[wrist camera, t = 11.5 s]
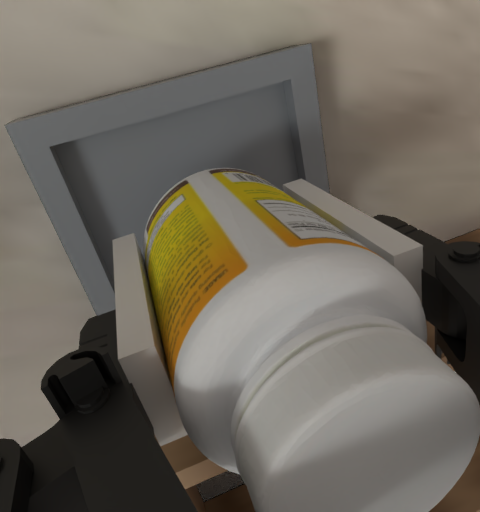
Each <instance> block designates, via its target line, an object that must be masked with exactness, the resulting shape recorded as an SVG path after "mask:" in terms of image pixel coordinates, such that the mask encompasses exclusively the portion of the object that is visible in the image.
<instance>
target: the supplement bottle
mask: <svg viewBox="0 0 480 512" xmlns="http://www.w3.org/2000/svg"><path fill="white" fill-rule="evenodd" d="M143 252H144V260H145V265H146V270H147V275H148V279H149V283H150V289H151V293H152V297H153V302H154V306H155V311H156V315H157V320H158V325H159V329H160V334H161V338H162V343H163V347H164V352H165V357H166V361H167V366H168V371H169V376H170V379H171V383H172V388H173V393H174V397H175V402H176V405H177V408H178V411H179V415H180V418H181V421H182V424H183V426H184V428H185V430H186V432H187V434H188V436H189V438H190V439H191V440H192V442H193V443H194V444H195V446H196V447H197V448H198V449H199V450H200V451H201V453H202V454H203V455H205V456H206V457H207V458H208V459H209V460H211V461H212V462H214V463H215V464H217V465H219V466H220V467H222V468H224V469H226V470H228V471H231V472H234V473H237V474H240V476H241V478H242V480H243V482H244V483H245V485H246V486H247V489H248V492H249V495H250V497H251V500H252V503H253V506H254V509H255V512H429V511H430V510H431V509H432V508H433V507H435V506H436V505H437V504H438V503H439V502H440V501H441V500H442V499H443V498H444V497H445V495H446V494H447V493H448V492H449V491H450V490H451V489H452V488H453V486H454V485H455V484H456V482H457V481H458V480H459V478H460V477H461V476H462V474H463V473H464V471H465V469H466V468H467V466H468V464H469V463H470V461H471V459H472V457H473V454H474V452H475V449H476V446H477V443H478V440H479V436H480V406H479V402H478V400H477V397H476V395H475V393H474V392H473V390H472V389H471V388H470V386H469V385H468V384H467V383H466V382H465V381H464V380H463V379H462V378H461V377H460V376H459V375H458V374H457V373H455V372H454V371H453V370H452V369H451V368H450V367H449V366H447V365H446V364H445V363H444V362H443V361H442V360H441V359H440V358H439V357H437V356H436V355H435V353H434V352H433V350H432V349H431V348H430V347H429V346H428V345H427V326H426V319H425V314H424V311H423V307H422V304H421V302H420V299H419V297H418V295H417V293H416V291H415V290H414V288H413V287H412V285H411V284H410V283H409V281H408V280H407V279H406V278H405V277H404V276H403V275H402V274H401V273H400V272H399V271H398V270H397V269H396V268H395V267H394V266H392V265H391V264H390V263H388V262H387V261H386V260H385V259H384V258H382V257H381V256H379V255H378V254H376V253H375V252H373V251H371V250H370V249H368V248H367V247H365V246H364V245H363V244H362V243H360V242H359V241H357V240H355V239H353V238H352V237H350V236H349V235H347V234H346V233H344V232H343V231H341V230H340V229H338V228H337V227H335V226H334V225H332V224H331V223H330V222H328V221H327V220H325V219H323V218H322V217H320V216H319V215H318V214H316V213H315V212H313V211H312V210H310V209H308V208H307V207H306V206H304V205H303V204H301V203H300V202H298V201H296V200H295V199H293V198H292V197H290V196H289V195H287V194H286V193H284V192H283V191H282V190H280V189H278V188H277V187H275V186H274V185H272V184H271V183H269V182H268V181H266V180H265V179H263V178H261V177H260V176H258V175H256V174H253V173H251V172H248V171H244V170H241V169H234V168H214V169H208V170H204V171H201V172H198V173H195V174H193V175H190V176H188V177H186V178H185V179H183V180H181V181H180V182H178V183H177V184H175V185H174V186H173V187H172V188H170V189H169V190H168V191H167V192H166V193H165V194H164V195H163V197H162V198H161V199H160V200H159V202H158V203H157V204H156V206H155V208H154V209H153V211H152V213H151V215H150V216H149V219H148V222H147V225H146V229H145V233H144V241H143Z"/></svg>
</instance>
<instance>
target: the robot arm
mask: <svg viewBox="0 0 480 512" xmlns="http://www.w3.org/2000/svg"><path fill="white" fill-rule="evenodd" d="M283 189H284V193H286V194H287V195H289V196H290V197H292V198H293V199H295V200H296V201H298V202H300V203H301V204H303V205H304V206H306V207H307V208H308V209H310V210H312V211H313V212H315V213H316V214H318V215H319V216H320V217H322V218H323V219H325V220H327V221H328V222H330V223H331V224H332V225H334V226H335V227H337V228H338V229H340V230H341V231H343V232H344V233H346V234H347V235H349V236H350V237H352V238H353V239H355V240H357V241H359V242H360V243H362V244H363V245H364V246H365V247H367V248H368V249H370V250H371V251H373V252H375V253H376V254H378V255H379V256H381V257H382V258H384V259H385V260H386V261H387V262H388V263H390V264H391V265H392V266H394V267H395V268H396V269H397V270H398V271H399V272H400V273H401V274H402V275H403V276H404V277H405V278H406V279H407V280H408V281H409V283H410V284H411V285H412V287H413V288H414V290H415V291H416V293H417V295H418V297H419V299H420V302H421V304H422V307H423V311H424V314H425V319H426V320H427V321H428V322H430V323H431V324H432V325H433V326H435V355H436V356H437V357H439V358H440V359H441V355H442V353H443V354H444V355H445V357H446V358H447V364H451V366H452V367H453V369H454V370H455V372H456V373H457V374H458V375H459V376H460V377H461V378H462V379H463V380H464V381H465V382H466V383H467V384H468V385H469V386H470V388H471V389H472V390H473V392H474V393H475V395H476V397H477V400H478V402H479V406H480V243H478V242H470V241H460V242H452V243H449V244H447V243H445V242H443V241H441V240H439V239H437V238H435V237H433V236H431V235H429V234H427V233H425V232H423V231H421V230H417V228H415V227H413V226H411V225H408V224H407V223H405V222H403V221H401V220H399V219H397V218H395V217H390V216H385V215H377V216H374V217H371V216H369V215H367V214H365V213H363V212H361V211H360V210H358V209H356V208H354V207H352V206H351V205H349V204H347V203H345V202H343V201H341V200H340V199H338V198H336V197H334V196H332V195H331V194H329V193H327V192H325V191H323V190H322V189H320V188H318V187H316V186H314V185H312V184H311V183H309V182H307V181H305V180H303V179H302V178H301V179H298V180H295V181H292V182H289V183H286V184H283ZM112 242H113V263H114V285H115V306H116V309H115V310H112V311H109V312H107V313H104V314H101V315H98V316H95V317H92V318H90V319H88V321H87V322H86V324H85V325H84V327H83V329H82V330H81V332H80V341H79V345H80V346H79V349H78V350H76V351H73V352H71V353H69V354H67V355H65V356H64V357H62V358H61V359H59V360H58V361H56V362H55V363H54V364H53V365H52V366H51V367H50V368H49V369H48V370H47V372H46V374H45V375H44V377H43V379H42V381H41V390H42V392H43V393H44V395H45V396H46V398H47V399H48V401H49V403H50V404H51V406H52V407H53V409H54V410H55V412H56V414H57V415H58V417H59V418H60V420H59V421H58V422H57V423H56V424H55V425H54V426H53V427H52V428H50V429H49V430H47V431H46V432H45V433H43V434H42V435H40V436H39V437H37V438H36V439H34V440H32V441H31V442H29V443H28V444H26V445H25V446H23V447H22V448H21V447H20V445H19V444H18V443H17V442H15V441H14V440H13V439H0V512H198V511H197V509H196V507H195V506H194V504H193V502H192V500H191V499H190V497H189V495H188V494H187V492H186V490H185V488H184V487H183V485H182V483H181V482H180V480H179V478H178V476H177V475H176V473H175V471H174V469H173V468H172V466H171V464H170V463H169V461H168V459H167V457H166V456H165V454H164V452H163V450H162V449H161V447H160V446H163V445H165V444H167V443H170V442H172V441H175V440H177V439H179V438H182V437H184V436H186V435H188V434H187V432H186V430H185V428H184V426H183V424H182V421H181V418H180V415H179V411H178V408H177V405H176V402H175V397H174V393H173V388H172V383H171V379H170V376H169V371H168V366H167V361H166V357H165V352H164V347H163V343H162V338H161V334H160V329H159V325H158V320H157V315H156V311H155V306H154V302H153V297H152V293H151V289H150V283H149V279H148V275H147V270H146V265H145V260H144V257H143V255H142V252H141V250H140V247H139V245H138V242H137V239H136V237H135V234H134V233H132V234H129V235H126V236H123V237H120V238H117V239H114V240H112ZM154 434H155V436H156V438H155V436H154ZM156 439H157V440H156ZM157 441H158V442H157ZM158 443H159V444H158Z"/></svg>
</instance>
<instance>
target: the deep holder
mask: <svg viewBox="0 0 480 512" xmlns="http://www.w3.org/2000/svg"><path fill="white" fill-rule="evenodd" d="M460 241H470V242H478V243H480V229H478V230H475V231H472V232H470V233H467V234H464V235H462V236H459V237H456V238H454V239H451V240H448V241H446V242H445V243H447V244H449V243H452V242H460ZM426 326H427V345H428V346H429V347H430V348H431V349H432V350H433V352H434V353H435V326H433V325H432V324H431V323H430V322H428V321H427V320H426ZM441 360H442V361H443V362H444V363H445V364H446V365H447V366H449V367H450V368H451V369H452V370H453V371H455V370H454V369H453V367H452V366H451V364H447V358H446V357H445V355H444V354H443V353H442V355H441ZM154 436H155V434H154ZM155 438H156V436H155ZM156 440H157V439H156ZM157 442H158V441H157ZM158 444H159V443H158ZM160 447H161V449H162V450H163V452H164V454H165V456H166V457H167V459H168V461H169V463H170V464H171V466H172V468H173V469H174V471H175V473H176V475H177V476H178V478H179V480H180V482H181V483H182V485H183V487H184V488H185V490H186V492H187V494H188V495H189V497H190V499H191V500H192V502H193V504H194V506H195V507H196V509H197V511H198V512H255V509H254V506H253V503H252V500H251V497H250V495H249V492H248V489H247V486H246V485H245V484H244V485H242V486H240V487H237V488H235V489H233V490H231V491H228V492H226V493H224V494H222V495H219V496H217V497H215V498H213V499H211V500H208V501H206V502H203V500H202V497H201V495H200V493H199V491H198V489H197V486H196V484H198V483H201V482H203V481H205V480H208V479H210V478H212V477H214V476H217V475H219V474H221V473H223V472H226V471H228V470H226V469H224V468H222V467H220V466H219V465H217V464H215V463H214V462H212V461H211V460H209V459H208V458H207V457H206V456H205V455H203V454H202V453H201V451H200V450H199V449H198V448H197V447H196V446H195V444H194V443H193V442H192V440H191V439H190V438H189V436H188V435H186V436H184V437H182V438H179V439H177V440H175V441H172V442H170V443H167V444H165V445H163V446H160ZM429 512H480V436H479V440H478V443H477V446H476V449H475V452H474V454H473V457H472V459H471V461H470V463H469V464H468V466H467V468H466V469H465V471H464V473H463V474H462V476H461V477H460V478H459V480H458V481H457V482H456V484H455V485H454V486H453V488H452V489H451V490H450V491H449V492H448V493H447V494H446V495H445V497H444V498H443V499H442V500H441V501H440V502H439V503H438V504H437V505H436V506H435V507H433V508H432V509H431V510H430V511H429Z"/></svg>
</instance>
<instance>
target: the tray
mask: <svg viewBox="0 0 480 512" xmlns="http://www.w3.org/2000/svg"><path fill="white" fill-rule="evenodd" d="M4 126H5V128H6V130H7V132H8V134H9V136H10V138H11V140H12V142H13V144H14V146H15V148H16V150H17V152H18V154H19V156H20V158H21V161H22V163H23V165H24V167H25V169H26V171H27V173H28V175H29V177H30V179H31V181H32V183H33V185H34V187H35V189H36V191H37V193H38V195H39V198H40V200H41V202H42V204H43V206H44V208H45V210H46V212H47V214H48V216H49V218H50V220H51V222H52V224H53V226H54V228H55V230H56V232H57V234H58V237H59V239H60V241H61V243H62V245H63V247H64V249H65V251H66V253H67V255H68V257H69V259H70V261H71V263H72V265H73V267H74V269H75V271H76V274H77V276H78V278H79V280H80V282H81V284H82V286H83V288H84V290H85V292H86V294H87V296H88V298H89V300H90V302H91V304H92V306H93V308H94V310H95V313H96V315H97V316H98V315H101V314H104V313H107V312H109V311H112V310H115V309H116V306H115V285H114V263H113V242H112V240H114V239H117V238H120V237H123V236H126V235H129V234H132V233H134V234H135V237H136V239H137V242H138V245H139V247H140V250H141V252H142V255H143V257H144V252H143V241H144V233H145V229H146V225H147V222H148V219H149V216H150V215H151V213H152V211H153V209H154V208H155V206H156V204H157V203H158V202H159V200H160V199H161V198H162V197H163V195H164V194H165V193H166V192H167V191H168V190H169V189H170V188H172V187H173V186H174V185H175V184H177V183H178V182H180V181H181V180H183V179H185V178H186V177H188V176H190V175H193V174H195V173H198V172H201V171H204V170H208V169H214V168H234V169H241V170H244V171H248V172H251V173H253V174H256V175H258V176H260V177H261V178H263V179H265V180H266V181H268V182H269V183H271V184H272V185H274V186H275V187H277V188H278V189H280V190H282V191H283V192H284V189H283V184H286V183H289V182H292V181H295V180H298V179H301V178H302V179H303V180H305V181H307V182H309V183H311V184H312V185H314V186H316V187H318V188H320V189H322V190H323V191H325V192H327V193H329V194H330V191H329V183H328V175H327V167H326V159H325V151H324V143H323V135H322V127H321V119H320V111H319V103H318V95H317V86H316V78H315V70H314V62H313V54H312V46H311V43H310V44H302V45H295V46H290V47H287V48H283V49H279V50H275V51H272V52H268V53H264V54H260V55H257V56H253V57H249V58H245V59H242V60H238V61H234V62H230V63H227V64H223V65H219V66H215V67H212V68H208V69H204V70H200V71H196V72H193V73H189V74H185V75H181V76H178V77H174V78H170V79H166V80H163V81H159V82H155V83H151V84H148V85H144V86H140V87H136V88H133V89H129V90H125V91H121V92H118V93H114V94H110V95H106V96H103V97H99V98H95V99H91V100H88V101H84V102H80V103H76V104H73V105H69V106H65V107H61V108H58V109H54V110H50V111H46V112H43V113H39V114H35V115H31V116H28V117H24V118H20V119H16V120H13V121H11V122H10V123H8V124H6V125H4Z"/></svg>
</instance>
